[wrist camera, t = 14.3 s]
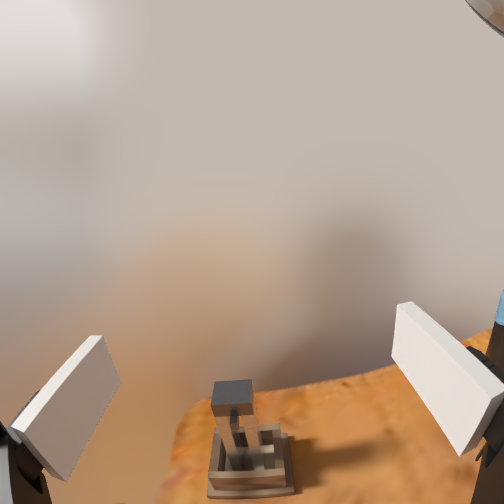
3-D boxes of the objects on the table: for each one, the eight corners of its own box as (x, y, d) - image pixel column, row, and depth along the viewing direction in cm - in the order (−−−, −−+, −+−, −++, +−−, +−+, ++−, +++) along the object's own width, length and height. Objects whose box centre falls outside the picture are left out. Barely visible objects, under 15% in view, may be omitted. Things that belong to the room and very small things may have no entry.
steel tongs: (264, 452, 35) (251, 379, 31) (265, 480, 29) (251, 410, 26) (235, 454, 35) (214, 381, 31) (234, 482, 30) (209, 413, 26)
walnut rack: (287, 436, 39) (286, 417, 38) (294, 494, 27) (294, 479, 26) (215, 441, 39) (208, 423, 38) (208, 498, 27) (199, 483, 26)
